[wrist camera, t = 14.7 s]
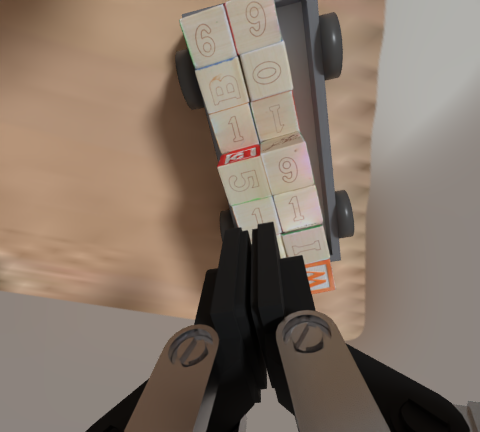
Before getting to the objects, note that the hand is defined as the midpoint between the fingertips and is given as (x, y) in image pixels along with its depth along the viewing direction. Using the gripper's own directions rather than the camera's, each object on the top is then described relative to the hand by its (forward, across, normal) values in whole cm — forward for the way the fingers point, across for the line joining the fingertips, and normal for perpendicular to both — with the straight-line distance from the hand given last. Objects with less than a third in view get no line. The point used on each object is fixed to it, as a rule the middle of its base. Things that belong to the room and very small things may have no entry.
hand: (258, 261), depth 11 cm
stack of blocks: (+23, 0, +1) cm, 23 cm away
